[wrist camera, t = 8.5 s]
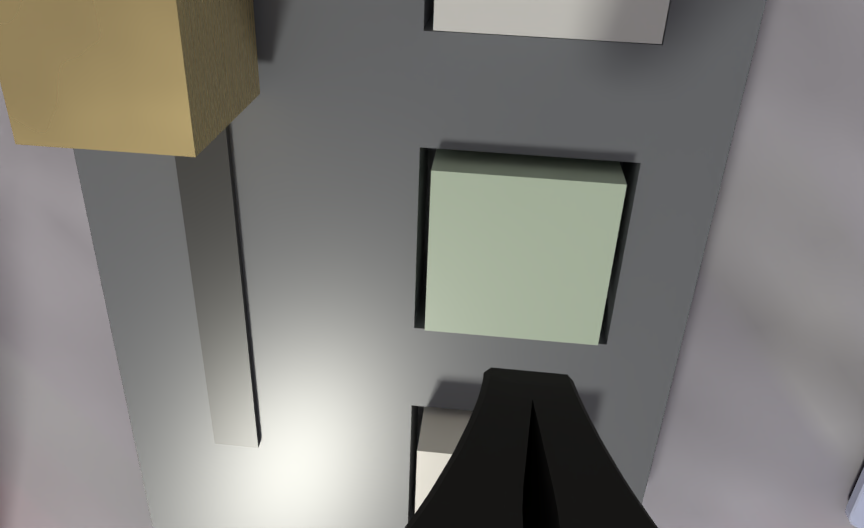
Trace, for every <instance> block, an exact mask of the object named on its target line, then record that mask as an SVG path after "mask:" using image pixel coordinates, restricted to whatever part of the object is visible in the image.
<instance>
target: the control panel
mask: <svg viewBox="0 0 864 528" xmlns="http://www.w3.org/2000/svg"><path fill="white" fill-rule="evenodd" d="M765 4H766V0H670V2H669V7H668V13H667V18H666V23H665V29H664V34H663V39H662V44H651V43H634V42H618V41H601V40H584V39H568V38H551V37H535V36H518V35H501V34H485V33H468V32H452V31H435V30H433V21H434V0H253V7H254V20H255V33H256V46H257V60H258V73H259V86H260V94H259V95H258V96H257V97H256V98H255V99H254V100H253V101H252V102H251V103H250V104H249V105H248V106H247V107H246V108H245V109H244V110H243V111H242V112H241V113H240V114H239V115H238V116H237V117H236V118H235V119H234V120H233V121H232V122H231V123H230V124H229V125H228V126H227V127H226V128H225V129H224V130H223V131H222V132H221V133H220V134H219V135H218V136H217V137H216V138H215V139H214V140H213V141H212V142H211V143H210V144H209V145H208V146H207V147H205V148H204V149H203V150H202V151H201V152H200V153H199V154H198V155H197V156H196V157H186V156H172V155H158V154H144V153H131V152H117V151H103V150H89V149H76V148H73V150H74V155H75V160H76V164H77V169H78V174H79V179H80V183H81V188H82V193H83V198H84V203H85V207H86V212H87V217H88V222H89V226H90V231H91V236H92V241H93V246H94V250H95V255H96V260H97V265H98V269H99V274H100V279H101V284H102V289H103V293H104V298H105V303H106V308H107V312H108V317H109V322H110V327H111V332H112V336H113V341H114V346H115V351H116V355H117V360H118V365H119V370H120V375H121V379H122V384H123V389H124V394H125V398H126V403H127V408H128V413H129V418H130V422H131V427H132V432H133V437H134V441H135V446H136V451H137V456H138V460H139V465H140V470H141V475H142V480H143V484H144V489H145V494H146V499H147V503H148V508H149V513H150V518H151V523H152V527H153V528H405V526H406V525H407V524H408V522H409V521H410V520H411V518H412V517H413V516H414V514H415V494H416V468H417V449H418V442H419V436H420V430H421V424H422V417H423V411H424V407H435V408H446V409H457V410H467V411H473V409H474V407H475V405H476V402H477V399H478V396H479V393H480V389H481V386H482V381H483V374H484V372H485V371H487V370H488V369H490V368H491V367H492V368H503V369H514V370H525V371H536V372H547V373H557V374H568V376H569V377H570V378H571V379H572V380H573V381H574V384H575V387H576V389H577V391H578V394H579V396H580V398H581V400H582V403H583V405H584V407H585V409H586V411H587V413H588V415H589V417H590V419H591V421H592V423H593V425H594V427H595V428H596V430H597V432H598V434H599V436H600V438H601V440H602V441H603V443H604V445H605V447H606V449H607V450H608V452H609V454H610V455H611V457H612V459H613V460H614V462H615V464H616V465H617V467H618V469H619V470H620V472H621V474H622V475H623V477H624V479H625V480H626V482H627V483H628V485H629V486H630V488H631V490H632V491H633V493H634V494H635V496H636V497H637V499H638V500H639V501H640V503H641V504H642V501H643V497H644V493H645V489H646V485H647V481H648V477H649V473H650V469H651V465H652V460H653V456H654V452H655V448H656V444H657V440H658V436H659V432H660V428H661V424H662V420H663V416H664V412H665V408H666V404H667V400H668V396H669V392H670V388H671V384H672V380H673V376H674V372H675V368H676V364H677V360H678V355H679V351H680V347H681V343H682V339H683V335H684V331H685V327H686V323H687V319H688V315H689V311H690V307H691V303H692V299H693V295H694V291H695V287H696V283H697V279H698V275H699V271H700V267H701V263H702V259H703V254H704V250H705V246H706V242H707V238H708V234H709V230H710V226H711V222H712V218H713V214H714V210H715V206H716V202H717V198H718V194H719V190H720V186H721V182H722V178H723V174H724V170H725V166H726V162H727V158H728V153H729V149H730V145H731V141H732V137H733V133H734V129H735V125H736V121H737V117H738V113H739V109H740V105H741V101H742V97H743V93H744V89H745V85H746V81H747V77H748V73H749V69H750V65H751V61H752V57H753V53H754V48H755V44H756V40H757V36H758V32H759V28H760V24H761V20H762V16H763V12H764V8H765ZM436 149H451V150H465V151H479V152H493V153H507V154H522V155H536V156H550V157H564V158H578V159H592V160H607V161H619V162H620V165H621V168H622V171H623V174H624V177H625V180H626V183H627V187H626V193H625V198H624V204H623V209H622V215H621V220H620V226H619V231H618V237H617V242H616V248H615V253H614V259H613V265H612V270H611V276H610V281H609V287H608V292H607V298H606V303H605V309H604V314H603V320H602V325H601V331H600V337H599V342H598V345H588V344H576V343H565V342H553V341H542V340H530V339H518V338H507V337H495V336H484V335H472V334H460V333H449V332H437V331H426V330H425V310H426V285H427V261H428V236H429V211H430V186H431V169H432V165H433V161H434V157H435V153H436Z"/></svg>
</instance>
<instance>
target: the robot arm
mask: <svg viewBox="0 0 864 528" xmlns="http://www.w3.org/2000/svg"><path fill="white" fill-rule="evenodd" d="M845 513H846V515H847V517H848V519H849V521H850V523H851V524H852V525H853V526H855V527H858V528H864V468H863V470H862V472H861V474H860V477H859V479H858V481H857V484H856V486H855V488H854V490H853V493H852V495H851V497H850V500H849V502H848V504H847V506H846V511H845ZM405 528H658V527H657V526H656V524H655V523H654V522H653V520H652V519H651V518H650V516H649V515H648V513H647V512H646V510H645V509H644V507H643V506H642V504H641V503H640V501H639V500H638V499H637V497H636V496H635V494H634V493H633V491H632V490H631V488H630V486H629V485H628V483H627V482H626V480H625V479H624V477H623V475H622V474H621V472H620V470H619V469H618V467H617V465H616V464H615V462H614V460H613V459H612V457H611V455H610V454H609V452H608V450H607V449H606V447H605V445H604V443H603V441H602V440H601V438H600V436H599V434H598V432H597V430H596V428H595V427H594V425H593V423H592V421H591V419H590V417H589V415H588V413H587V411H586V409H585V407H584V405H583V403H582V400H581V398H580V396H579V394H578V391H577V389H576V387H575V384H574V381H573V380H572V379H571V378H570V377H569V376H568V374H557V373H547V372H536V371H525V370H514V369H503V368H492V367H491V368H490V369H488V370H487V371H485V372H484V374H483V381H482V386H481V389H480V393H479V396H478V399H477V402H476V405H475V407H474V409H473V412H472V414H471V417H470V419H469V421H468V424H467V426H466V428H465V430H464V432H463V434H462V436H461V438H460V440H459V442H458V444H457V446H456V448H455V450H454V452H453V454H452V455H451V457H450V459H449V461H448V462H447V464H446V466H445V467H444V469H443V471H442V472H441V474H440V476H439V477H438V479H437V481H436V482H435V484H434V486H433V487H432V489H431V491H430V492H429V494H428V495H427V497H426V498H425V500H424V501H423V503H422V504H421V506H420V507H419V508H418V510H417V511H416V513H415V514H414V516H413V517H412V518H411V520H410V521H409V522H408V524H407V525H406V526H405Z"/></svg>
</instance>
